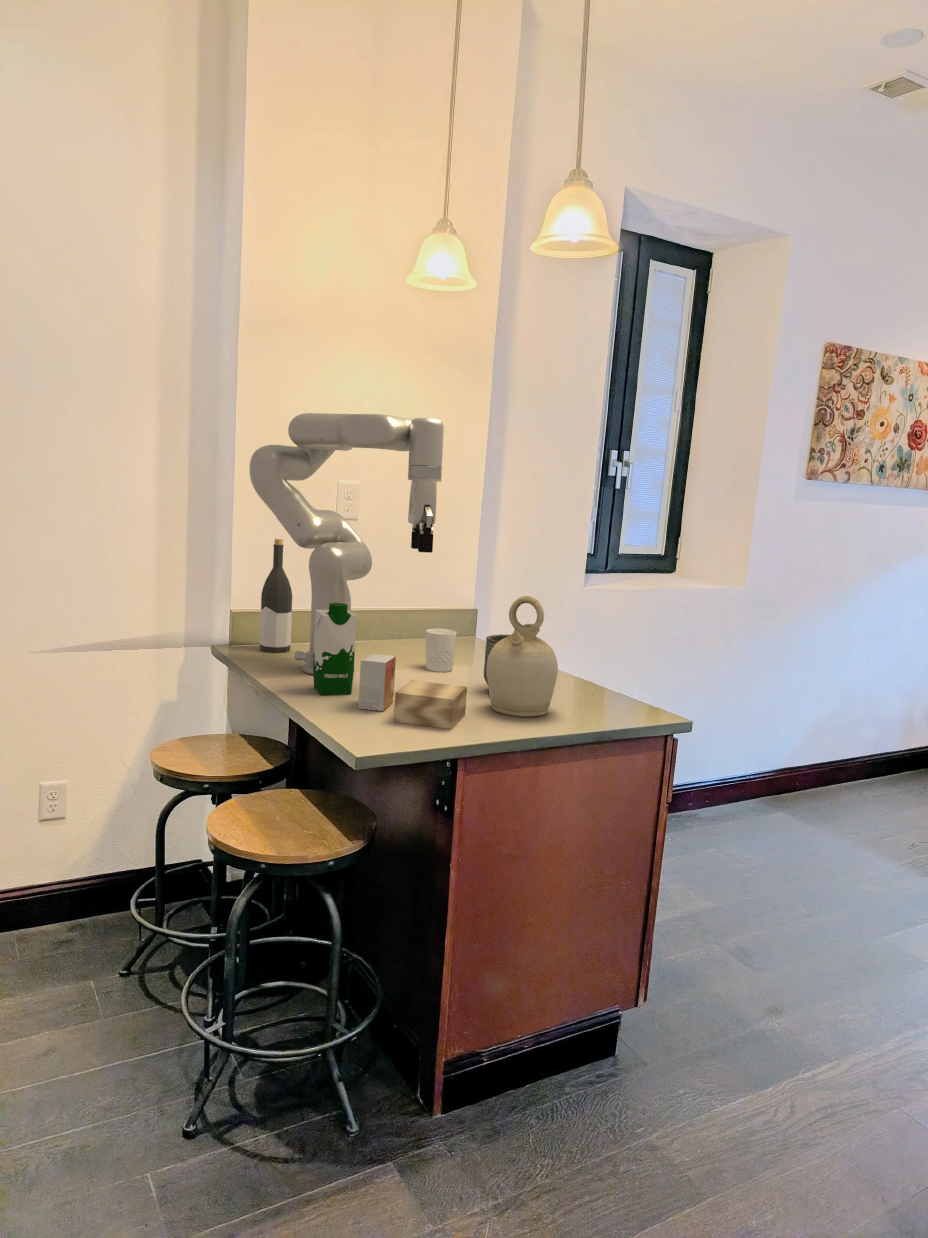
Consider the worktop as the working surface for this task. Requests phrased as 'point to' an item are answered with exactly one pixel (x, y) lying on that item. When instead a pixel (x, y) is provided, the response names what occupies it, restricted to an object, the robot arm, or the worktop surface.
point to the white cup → (440, 649)
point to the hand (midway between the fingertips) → (421, 550)
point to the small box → (377, 682)
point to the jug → (522, 668)
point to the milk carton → (334, 650)
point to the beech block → (430, 704)
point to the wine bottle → (276, 607)
